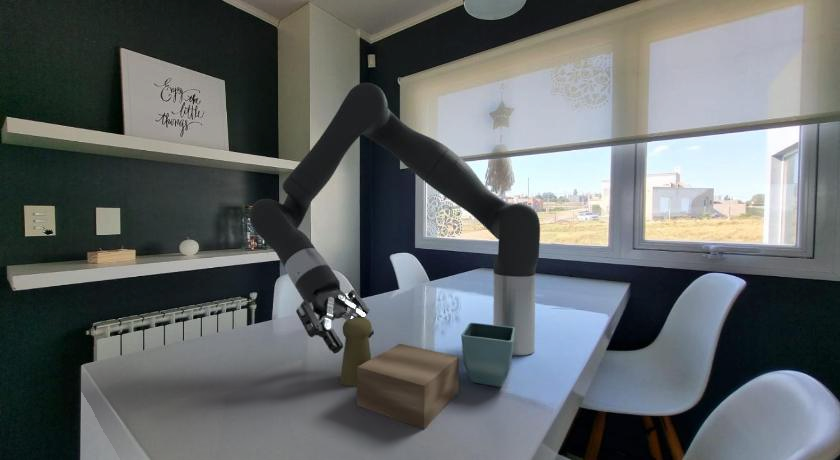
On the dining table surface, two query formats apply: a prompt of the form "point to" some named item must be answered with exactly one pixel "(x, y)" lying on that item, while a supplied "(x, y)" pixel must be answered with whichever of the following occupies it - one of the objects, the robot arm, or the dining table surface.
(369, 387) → the walnut block
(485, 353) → the flower pot
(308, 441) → the dining table surface
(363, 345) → the cork
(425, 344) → the dining table surface
